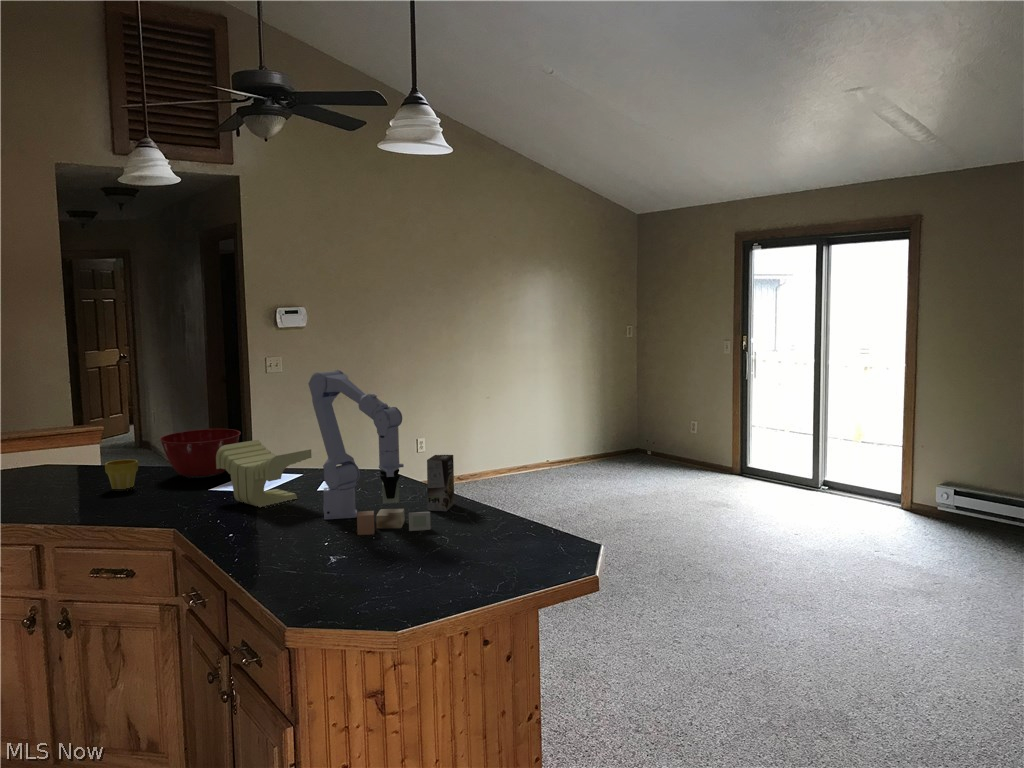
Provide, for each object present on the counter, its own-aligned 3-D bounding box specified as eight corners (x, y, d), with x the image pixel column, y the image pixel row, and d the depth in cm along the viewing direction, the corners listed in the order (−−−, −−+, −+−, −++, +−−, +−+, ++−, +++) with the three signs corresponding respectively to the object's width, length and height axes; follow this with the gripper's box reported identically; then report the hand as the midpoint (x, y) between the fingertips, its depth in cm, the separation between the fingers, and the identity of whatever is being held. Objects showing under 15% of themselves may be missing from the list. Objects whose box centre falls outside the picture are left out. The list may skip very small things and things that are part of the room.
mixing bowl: (194, 487, 281) (192, 444, 279) (145, 478, 296) (143, 437, 294) (258, 471, 305) (256, 432, 303) (210, 464, 320) (208, 426, 318)
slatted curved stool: (218, 499, 262) (215, 446, 260) (260, 490, 275) (258, 439, 273) (270, 514, 243) (267, 457, 241) (313, 503, 255) (311, 449, 254)
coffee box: (447, 511, 243) (446, 460, 242) (427, 510, 245) (425, 459, 243) (455, 504, 252) (454, 454, 251) (435, 503, 254) (434, 453, 252)
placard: (409, 531, 224) (408, 513, 223) (409, 529, 225) (408, 512, 224) (430, 529, 224) (430, 512, 224) (430, 528, 226) (429, 511, 225)
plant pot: (129, 484, 286) (127, 457, 285) (145, 488, 280) (143, 460, 279) (101, 490, 278) (99, 462, 277) (116, 494, 272) (114, 466, 270)
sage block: (382, 503, 227) (382, 484, 226) (382, 499, 232) (382, 481, 231) (399, 502, 228) (398, 483, 227) (398, 498, 232) (398, 480, 232)
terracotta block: (357, 535, 221) (356, 516, 220) (358, 530, 225) (357, 511, 224) (374, 534, 221) (373, 515, 221) (374, 529, 226) (373, 510, 225)
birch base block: (376, 529, 227) (376, 515, 226) (381, 522, 234) (380, 509, 233) (401, 528, 227) (400, 515, 226) (404, 522, 234) (404, 508, 233)
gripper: (404, 454, 222) (405, 501, 223) (402, 444, 236) (403, 489, 237) (378, 455, 220) (380, 503, 222) (378, 445, 235) (379, 490, 236)
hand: (390, 496), depth 230 cm, fingers closed on sage block, 5 cm apart
